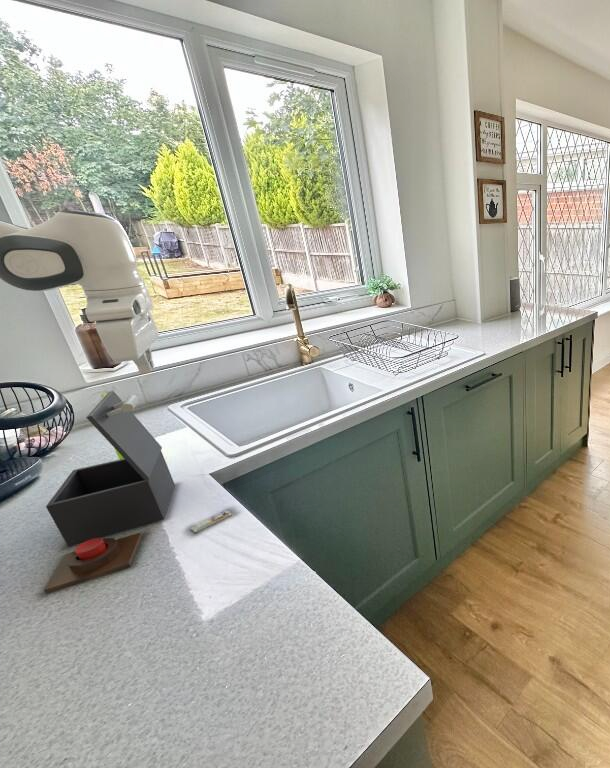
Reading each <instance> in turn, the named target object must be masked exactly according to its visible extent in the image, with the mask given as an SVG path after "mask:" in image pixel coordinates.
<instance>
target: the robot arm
mask: <svg viewBox="0 0 610 768" xmlns="http://www.w3.org/2000/svg"><path fill="white" fill-rule="evenodd" d="M123 227H124V226H122V224H121V223H120V222H119V220H117V219H115V217H113V216H110V215H107V214H105V213H100V212H92V211H85V210H76V209H62V210H59V211H57V212H55V214H54V215H53V216H51V217H50V218H49V219H46V220H45V221H44V222H43V221H42V222H41V223H39V224H37V225H34V226H31V227H24V226H20V225H17V224H14V223H10V222H8V221H6V220H5V221H4V220H2V219H0V279H1V280H2V281H3V282H4V283H7V284H8V285H10V286H12V287H15V288H17V289H21V290H23V291H24V290H25V291H32V292H48V291H53V290H57V289H62V288H66V287H68V286H77V285H79V286H80V287H81V288H82V290H83V292H84V295H85V297H86V306H85V309H84V313H85V316H86V318H87V320H88V322H91V323H93V322H94V326H95V329H96V333H97V335H98V336H99V339H100V341H101V343H102V345H103V347H104V349H105V351H106V353H107V354H108V356H109V357H110V359H112V361H113V362H115V363H124V362H133V364H135V366H136V367H137V369H138V372H139V373H140V374H148V373H151V371H152V370H153V369H154V367H155V364H154V360H153V354H152V348H151V346H152V344H153V343H155V341H156V340H157V339H158V338H159V337H160V334H159V330H158V327H157V324H156V322H155V320H154V317H153V314H152V313H151V310H153V309H154V308H155V306H154V303H153V300H152V297H151V295H150V292H149V289H148V285H147V284H146V281H145V280H144V279H143V278H144V277H142V276H141V274H140V271H139V268H138V265H139V264H138V263H139V261H138V258H137V255H136V253H135V250H134V248H133V245H132V243H131V241H130V239H129V236H128V234H127V232H126V231H125V229H124V228H123Z"/></svg>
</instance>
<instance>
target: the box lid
mask: <svg viewBox="0 0 610 768" xmlns="http://www.w3.org/2000/svg"><path fill="white" fill-rule="evenodd" d="M107 393H108V394H107V395H106V396H105V397H102V398H101V400H100V401H99V402H98V404H97V405H96V406H95V407H94V408H93V409H92V410H91V411H90V412H89V414H88V415H87V416H86V419H87V420H88V421H89V422H90V423H91V425H93V427H94V428H95V429H96V430H97V431H98V432H99V433H100V434H101V436H103V437H104V438H105V440H106V441H107V442H108V443H109V444H110V445H111V446H112V447H113V448H114V450H115V449H116V450H117V451H118V452H119V453H120V454H121V455H122V456H123V458H124V459H125V460H126V461H127V462H128V463H129V464H130V465H131V466H132V467H133V468H134V469H135V470H136V471H137V473H138V474H139V475H140V476H141V477H142V478H143V479H144V480H146V479H148V478H149V477H150V475H151V472H152V470H153V468H154V466H155V463H156V461H157V459H158V456H159V454H160V452H162V449H163V446H161V444H160V443H159V442H158V441H157V440H156V439H155V437H154V436H153V435H152V433H150V431H149V430H148V429H147V428H146V427H145V425H143V423H142V422H141V421H140V420H139V418H138V417H137V416H136V415H135V414H134V413H133V411H134V410H135V408H136V406H137V405H138V404H139V402H140V397H139V396H138V395H136V394H131V395H129V396H128V397H127V398H126V399H125V400H124V401H123V400H122V399H121V397H119V395H118V394H117V393H116V392H115V391H114V390H110V391H108V392H107ZM136 417H137V418H136ZM116 450H115V451H116Z"/></svg>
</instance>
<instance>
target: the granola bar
mask: <svg viewBox="0 0 610 768" xmlns="http://www.w3.org/2000/svg"><path fill="white" fill-rule="evenodd" d="M230 516H232V513H231V512H230V511H229V510H222V511H220V512H218V513H216V514H214V515H212V516H210V517H208V518H205V519H204V520H203V519H202V520H201V521H199V522H197V523H195V524H194V525H193V526H191V527H189V529H190V530H191V531H193V533H197V532H199V531H202V530H204V529H206V528H208V527H210V526H212V525H214V524H216V523H219V522H220V521H222V520H224V519H226V518H228V517H230Z"/></svg>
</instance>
